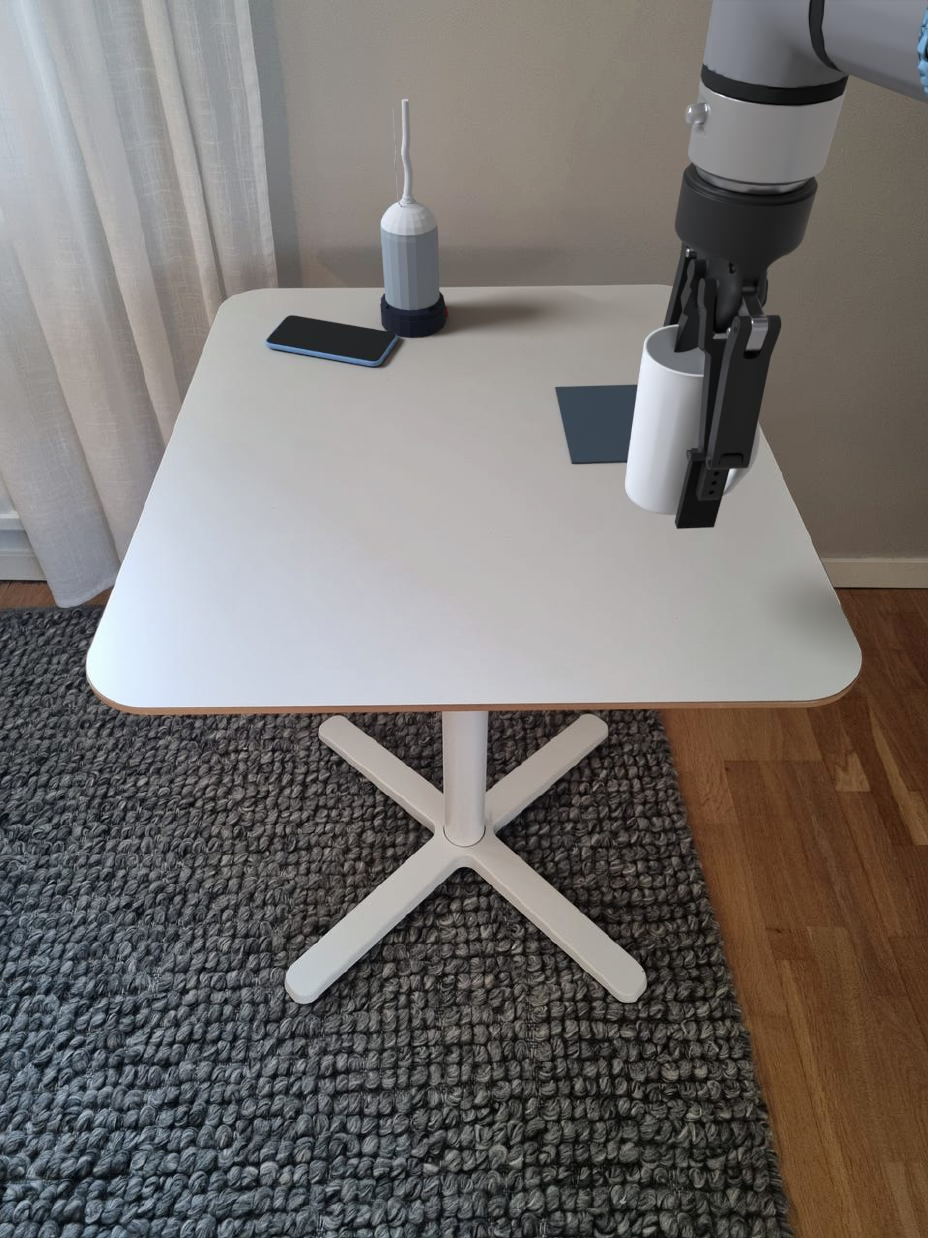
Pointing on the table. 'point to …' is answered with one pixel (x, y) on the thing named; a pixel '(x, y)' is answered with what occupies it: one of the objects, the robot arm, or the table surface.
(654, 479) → the mug
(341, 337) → the smartphone
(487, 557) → the table surface
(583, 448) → the mat
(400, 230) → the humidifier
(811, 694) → the table surface
